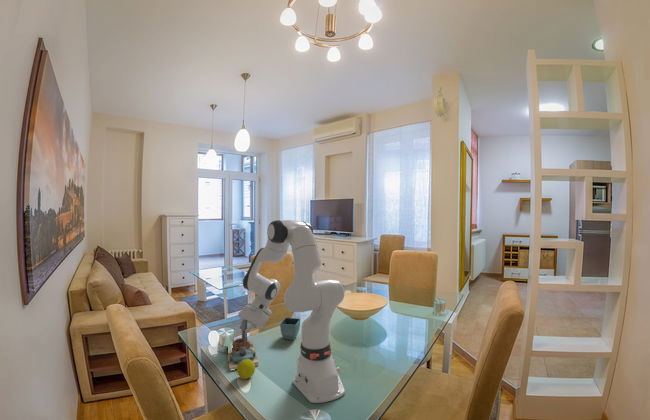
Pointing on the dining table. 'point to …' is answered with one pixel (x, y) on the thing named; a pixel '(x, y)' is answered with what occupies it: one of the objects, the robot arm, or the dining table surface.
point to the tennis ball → (246, 369)
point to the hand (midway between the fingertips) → (243, 330)
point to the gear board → (241, 353)
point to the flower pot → (290, 328)
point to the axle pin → (244, 326)
